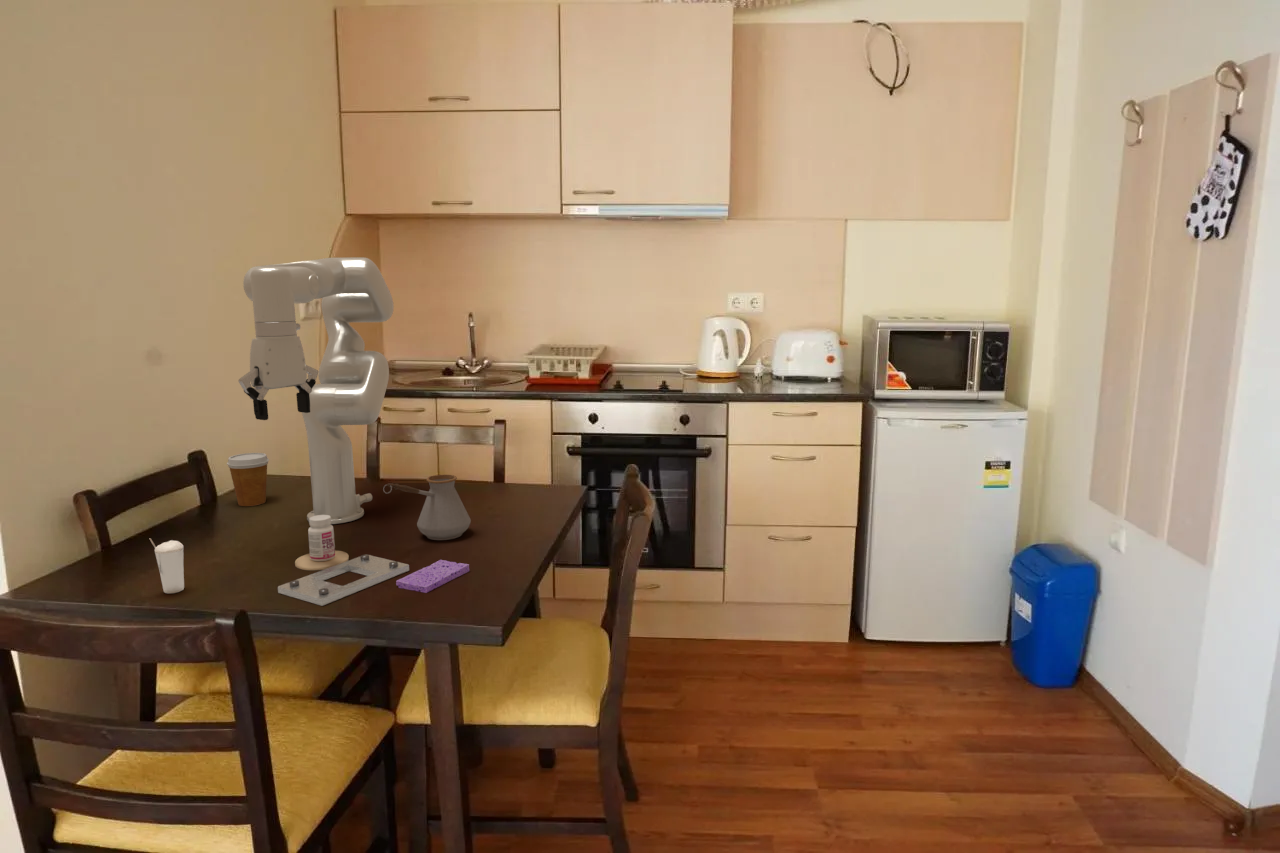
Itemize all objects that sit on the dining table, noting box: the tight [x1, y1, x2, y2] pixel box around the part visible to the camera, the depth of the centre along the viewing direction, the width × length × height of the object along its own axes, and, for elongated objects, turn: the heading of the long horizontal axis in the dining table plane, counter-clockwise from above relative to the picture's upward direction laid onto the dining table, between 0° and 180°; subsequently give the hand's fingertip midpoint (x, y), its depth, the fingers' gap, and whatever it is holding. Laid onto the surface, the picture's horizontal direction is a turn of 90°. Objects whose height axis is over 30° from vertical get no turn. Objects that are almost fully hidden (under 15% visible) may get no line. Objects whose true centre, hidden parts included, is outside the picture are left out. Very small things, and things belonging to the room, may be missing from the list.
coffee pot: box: [382, 474, 472, 541], centre depth 177 cm, size 21×12×15 cm, turn 149°
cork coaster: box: [294, 550, 350, 571], centre depth 166 cm, size 10×10×1 cm
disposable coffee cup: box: [226, 452, 270, 507], centre depth 208 cm, size 10×10×12 cm
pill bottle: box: [307, 515, 336, 562], centre depth 166 cm, size 5×5×8 cm
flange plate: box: [277, 554, 410, 607], centre depth 155 cm, size 20×12×2 cm, turn 149°
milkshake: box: [149, 538, 185, 595], centre depth 151 cm, size 5×5×10 cm
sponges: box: [395, 559, 470, 594], centre depth 156 cm, size 7×13×2 cm, turn 153°
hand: (283, 415), depth 168 cm, fingers open, 9 cm apart
